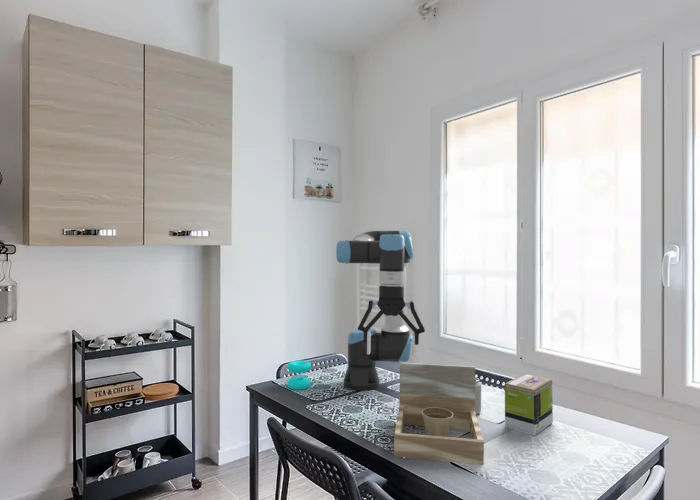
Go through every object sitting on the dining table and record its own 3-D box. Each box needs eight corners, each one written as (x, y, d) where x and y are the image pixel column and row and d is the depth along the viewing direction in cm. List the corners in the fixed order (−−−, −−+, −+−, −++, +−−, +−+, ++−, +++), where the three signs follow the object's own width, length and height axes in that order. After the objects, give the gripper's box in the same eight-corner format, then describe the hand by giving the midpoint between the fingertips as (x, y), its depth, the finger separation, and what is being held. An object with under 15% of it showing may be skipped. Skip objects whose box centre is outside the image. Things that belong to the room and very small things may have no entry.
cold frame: (399, 422, 146) (400, 362, 146) (474, 428, 142) (474, 366, 142) (394, 456, 123) (394, 384, 122) (483, 464, 119) (484, 390, 118)
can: (477, 417, 151) (478, 382, 151) (456, 413, 155) (456, 379, 155) (483, 411, 157) (483, 377, 157) (462, 406, 161) (463, 374, 161)
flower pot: (450, 435, 137) (451, 407, 136) (455, 449, 127) (455, 419, 127) (420, 433, 138) (420, 406, 137) (422, 447, 128) (422, 418, 128)
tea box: (523, 415, 154) (524, 372, 154) (553, 423, 147) (554, 379, 147) (503, 427, 143) (504, 381, 143) (534, 436, 136) (535, 389, 136)
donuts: (308, 366, 176) (284, 365, 178) (308, 391, 177) (283, 390, 178) (313, 360, 186) (290, 359, 188) (313, 383, 186) (290, 382, 188)
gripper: (349, 285, 132) (348, 355, 133) (433, 287, 129) (432, 359, 129) (352, 282, 140) (352, 349, 140) (432, 284, 136) (431, 353, 137)
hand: (390, 354), depth 135 cm, fingers open, 13 cm apart
